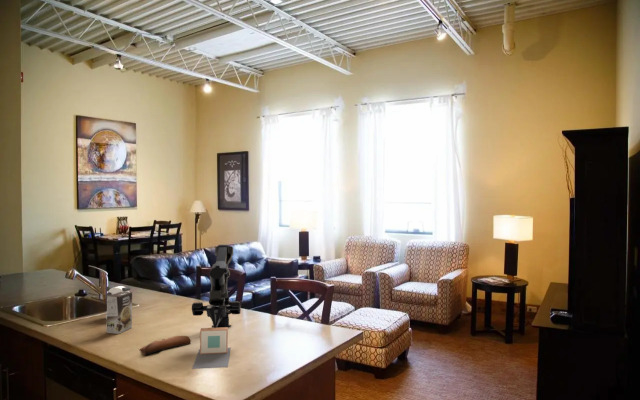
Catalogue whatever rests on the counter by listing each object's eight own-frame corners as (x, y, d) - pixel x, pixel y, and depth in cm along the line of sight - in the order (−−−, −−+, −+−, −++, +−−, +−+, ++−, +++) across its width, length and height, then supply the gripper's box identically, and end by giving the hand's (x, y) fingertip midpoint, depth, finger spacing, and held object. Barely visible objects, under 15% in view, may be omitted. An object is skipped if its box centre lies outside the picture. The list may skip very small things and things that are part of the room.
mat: (199, 350, 163) (199, 348, 163) (230, 349, 165) (230, 347, 165) (192, 370, 144) (192, 368, 144) (227, 368, 146) (227, 367, 146)
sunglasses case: (181, 339, 175) (185, 327, 173) (188, 352, 171) (192, 340, 168) (137, 349, 163) (140, 337, 160) (143, 363, 159) (146, 351, 156)
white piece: (99, 318, 203) (99, 287, 203) (117, 312, 214) (117, 283, 214) (119, 321, 199) (119, 289, 199) (136, 315, 210) (137, 285, 210)
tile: (200, 351, 160) (201, 328, 160) (227, 350, 162) (228, 327, 162) (199, 354, 158) (200, 330, 157) (227, 353, 159) (227, 329, 159)
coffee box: (119, 334, 181) (119, 296, 181) (105, 333, 182) (106, 295, 182) (132, 327, 190) (132, 292, 190) (119, 326, 191) (120, 291, 191)
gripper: (192, 282, 167) (187, 318, 156) (240, 281, 170) (239, 316, 159) (195, 297, 175) (190, 332, 164) (241, 296, 178) (239, 330, 167)
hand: (215, 327), depth 163 cm, fingers closed
